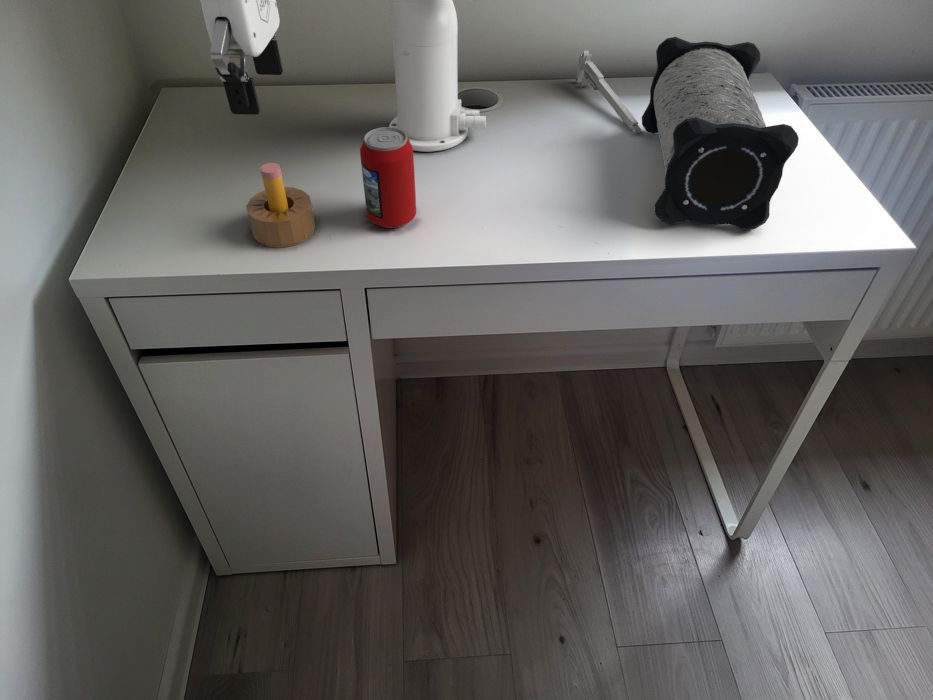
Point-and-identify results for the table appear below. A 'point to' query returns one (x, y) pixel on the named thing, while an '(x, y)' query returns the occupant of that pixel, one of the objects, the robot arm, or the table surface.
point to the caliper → (603, 89)
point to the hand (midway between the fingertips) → (258, 92)
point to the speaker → (714, 135)
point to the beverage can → (388, 177)
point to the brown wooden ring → (281, 219)
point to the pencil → (274, 187)
